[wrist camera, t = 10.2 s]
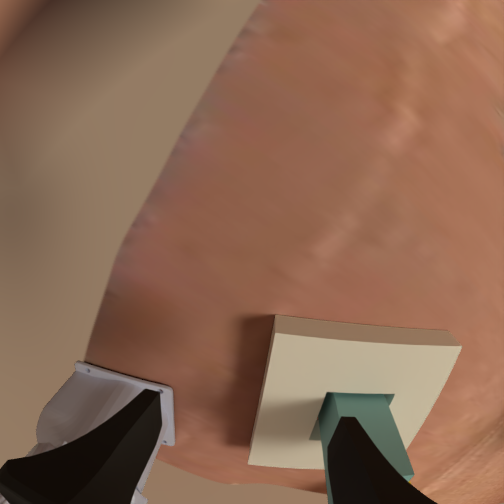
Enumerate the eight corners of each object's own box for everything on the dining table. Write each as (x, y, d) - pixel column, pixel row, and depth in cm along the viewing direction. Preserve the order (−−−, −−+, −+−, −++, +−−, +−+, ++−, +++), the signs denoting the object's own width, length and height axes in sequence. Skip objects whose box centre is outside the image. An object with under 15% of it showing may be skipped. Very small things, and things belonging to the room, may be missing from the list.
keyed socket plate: (249, 444, 25) (247, 464, 22) (275, 314, 21) (275, 332, 18) (389, 448, 24) (394, 465, 22) (448, 330, 20) (462, 346, 18)
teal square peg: (317, 411, 23) (329, 511, 13) (330, 375, 22) (351, 480, 12) (361, 412, 23) (386, 506, 13) (377, 377, 22) (414, 474, 12)
